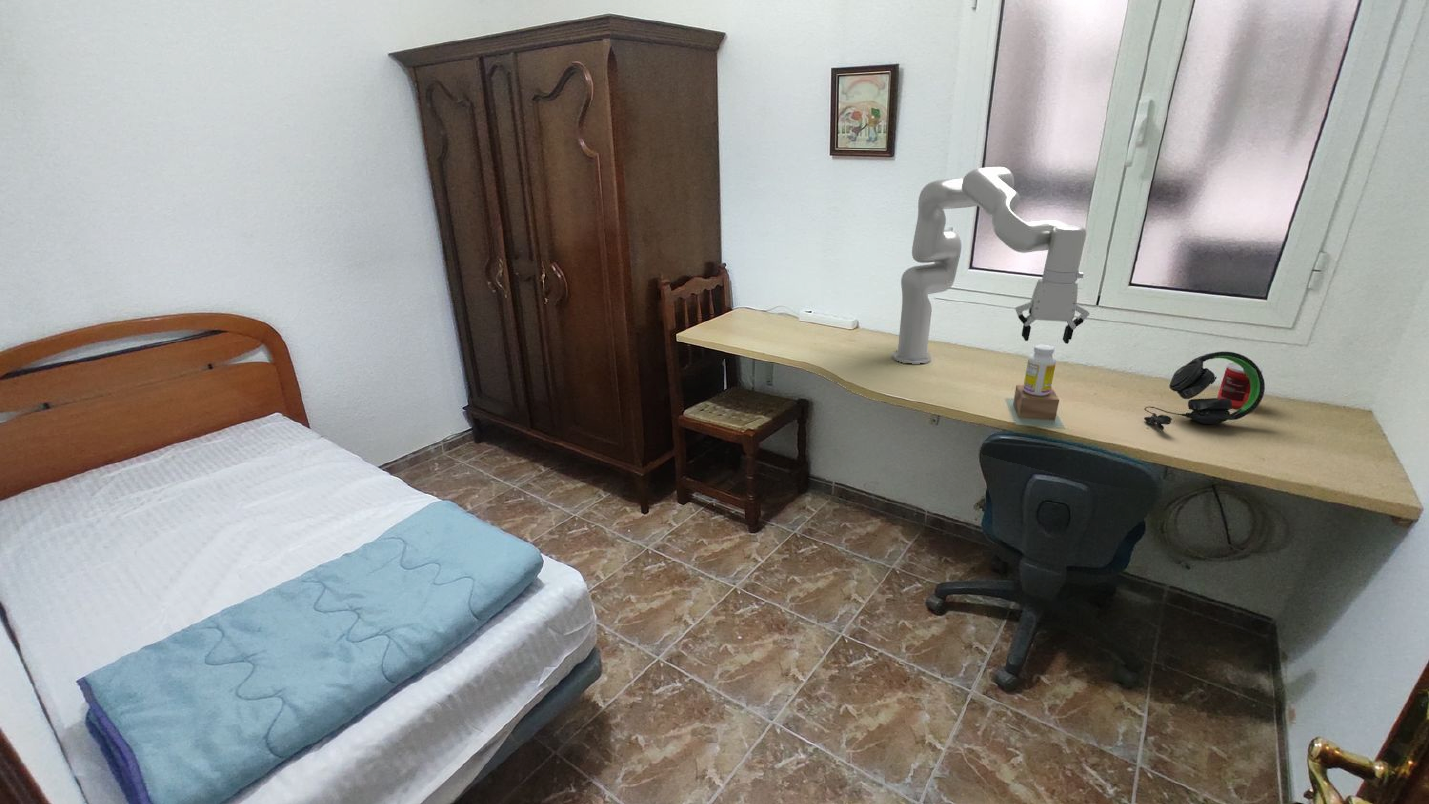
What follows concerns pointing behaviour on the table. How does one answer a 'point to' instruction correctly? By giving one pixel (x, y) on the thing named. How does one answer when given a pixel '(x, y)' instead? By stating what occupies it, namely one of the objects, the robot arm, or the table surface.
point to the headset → (1197, 379)
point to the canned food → (1235, 385)
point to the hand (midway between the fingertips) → (1045, 340)
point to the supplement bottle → (1040, 371)
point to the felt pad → (1032, 422)
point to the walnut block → (1035, 405)
